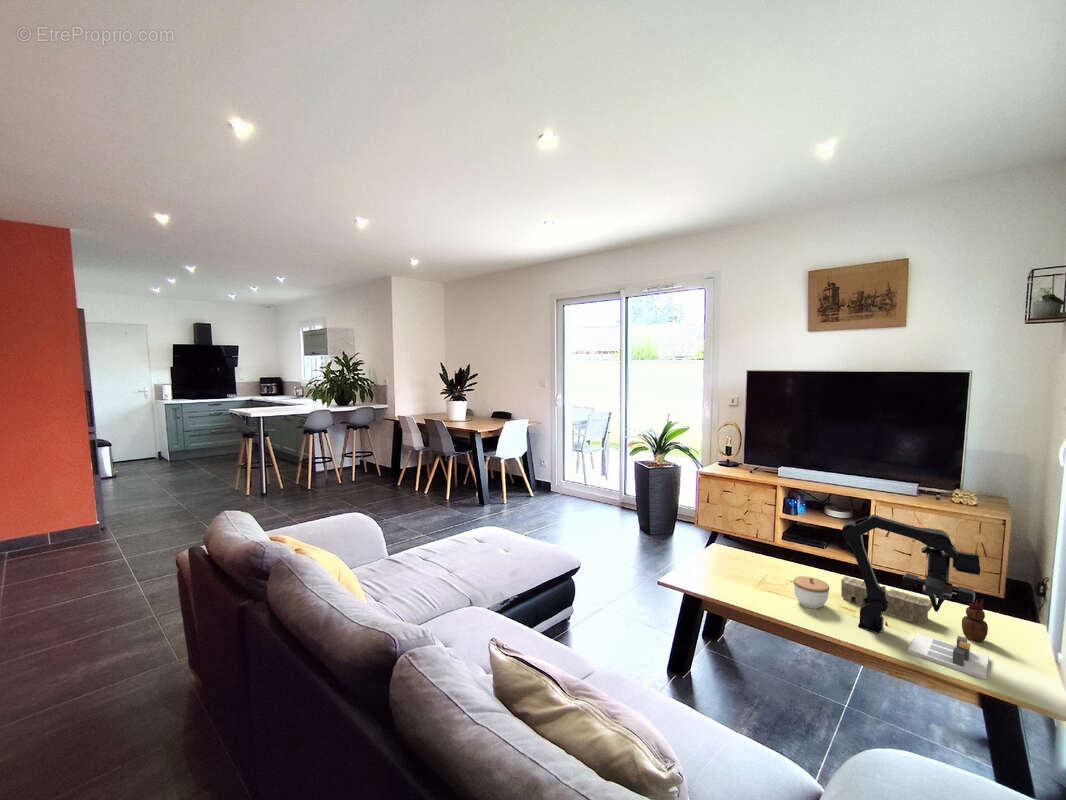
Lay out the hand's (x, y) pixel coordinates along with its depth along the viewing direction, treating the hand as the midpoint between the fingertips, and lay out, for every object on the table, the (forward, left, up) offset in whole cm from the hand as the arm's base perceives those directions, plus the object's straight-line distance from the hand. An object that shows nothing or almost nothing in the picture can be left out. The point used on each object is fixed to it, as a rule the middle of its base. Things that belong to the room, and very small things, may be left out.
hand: (936, 611), depth 163 cm
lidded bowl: (-39, 0, -12) cm, 41 cm away
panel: (+4, -5, -12) cm, 14 cm away
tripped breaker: (+8, -6, -10) cm, 14 cm away
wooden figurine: (+9, +15, -12) cm, 21 cm away
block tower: (-18, +18, -12) cm, 28 cm away
